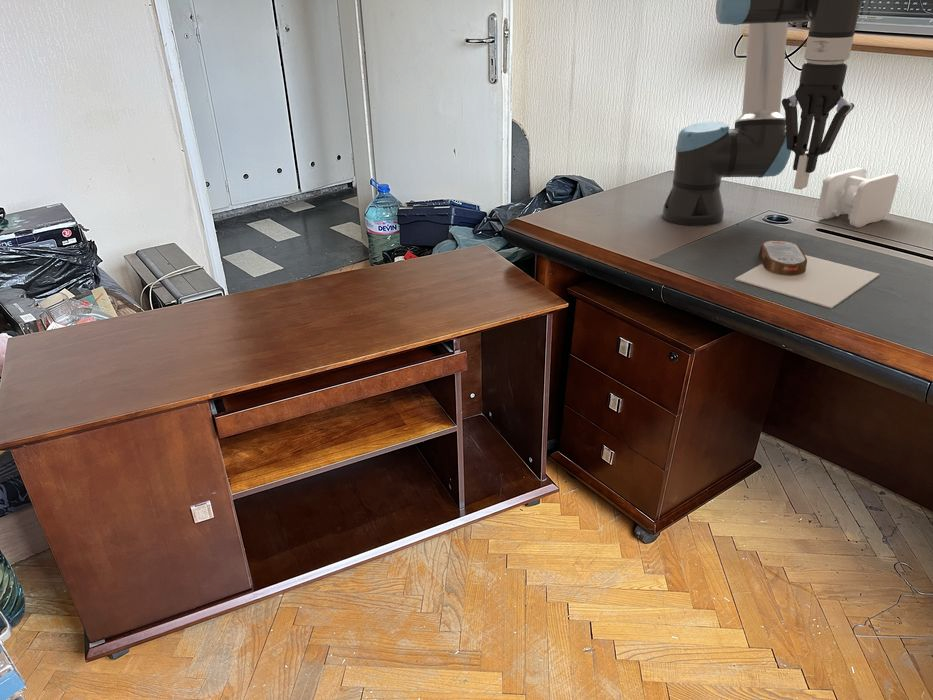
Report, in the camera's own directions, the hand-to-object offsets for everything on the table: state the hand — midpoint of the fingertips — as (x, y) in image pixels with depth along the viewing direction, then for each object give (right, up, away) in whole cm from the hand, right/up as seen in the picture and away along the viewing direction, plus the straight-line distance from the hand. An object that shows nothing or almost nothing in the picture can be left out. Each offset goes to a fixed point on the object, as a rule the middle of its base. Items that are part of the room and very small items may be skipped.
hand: (800, 187), depth 137 cm
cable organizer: (+30, 0, +35) cm, 46 cm away
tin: (-2, -12, +12) cm, 17 cm away
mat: (+4, -18, +5) cm, 19 cm away
